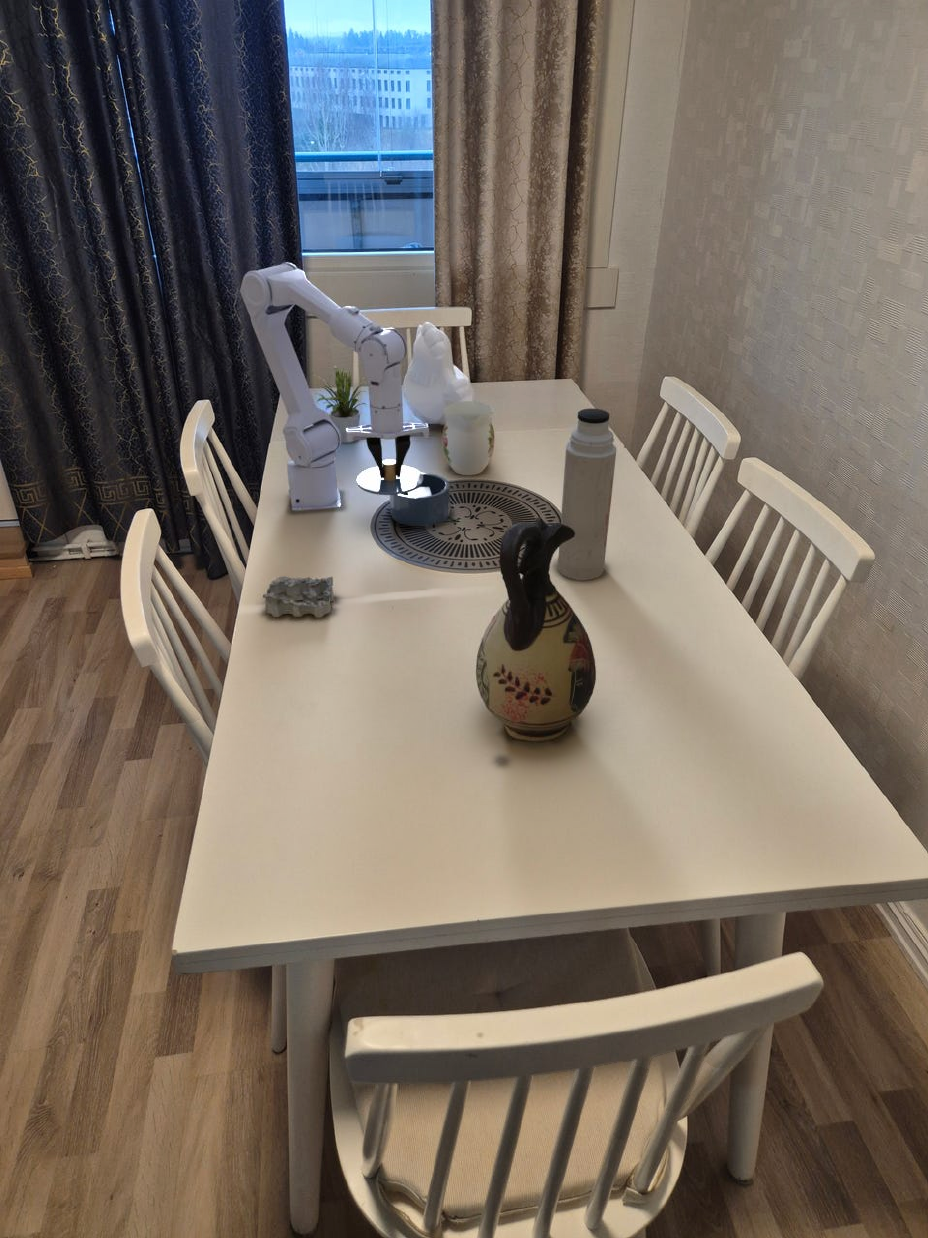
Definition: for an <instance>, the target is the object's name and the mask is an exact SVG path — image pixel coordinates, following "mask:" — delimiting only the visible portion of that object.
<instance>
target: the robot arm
mask: <svg viewBox="0 0 928 1238" xmlns="http://www.w3.org/2000/svg"><path fill="white" fill-rule="evenodd" d="M239 293H240V295H241V298H242V300H243V303H244V305H245V308H246V310H247V313H248V315H249V317H250V322H251V325H252V327H253V328H252V329H253V330H254V333H255V335H256V337H257V340H258V342H259V345H260V347H261V350H262V352H263V353H262V354H263V356H264V357H265V359H266V363H267V364H268V368H269V370H270V372H271V374H272V377H273V379H274V382H275V384H276V387H277V390H278V392H279V394H280V395H279V396H280V397H281V399H282V402H283V404H284V407H285V410H286V412H287V414H288V418H287V420H286V422H285V424H284V426H283V429H282V434H283V436H284V439H285V449H286V452H287V454H288V456H289V458H290V459H291V460H290V461H287V463H286V467H287V468H286V469H287V478H288V480H287V481H288V487H289V488H288V497H289V499H290V504H291V510H292V511H302V510H303V511H305V510H316V509H319V510H320V509H331V508H332V509H333V508H340V507H342V501H341V492H340V490H339V489H338V482H337V481H338V480H337V470H336V459H335V458H336V457H337V456H338V455H337V451H338V450H339V449H340V448H341V445H342V442H341V434H340V432H339V430H338V428H337V427H336V425H335V424H334V423H333V422H332V420H331V418H330V415H329V413H330V412H328V411H327V410H324V409H322V408H320V407H319V406H317V405H316V401H315V399H314V396H313V395H312V392H311V389H310V386H309V385H308V381H307V379H306V377H305V374H304V371H303V369H302V366H301V363H300V361H299V358H298V356H297V353H296V351H295V348H294V346H293V344H292V343H293V342H292V341H291V338H290V336H289V333H288V330H287V328H286V326H285V323H286V320H287V316H288V314H289V313H290V312H291V310H292V309H293V307H294V306H295V305H296V306H298V307H299V308H301V309H303V310H304V311H306V312H307V313H309V314H311V315H312V316H314V317H315V318H317V319H319V320H320V321H322V322H324V323H325V324H327V325H328V326H329V329H330V333H331V335H332V336H333V337H334V338H335V339H336V340H338V341H339V342H341V343H342V344H343V345H345V346H346V347H348V348H349V349H351V350H352V351H353V352H355V353H356V354H357V355H358V358H359V361H360V363H361V365H362V366H363V368H364V373H365V375H364V376H366V377H365V378H366V379H367V387H368V400H369V401H368V402H369V416H370V417H369V418H370V423H369V424H364V425H359V426H358V427H352V428H346V435H347V442H348V443H353V442H354V441H353V440H356V441H366V445H367V449H368V451H369V453H370V454H371V455H372V457H373V459H374V461H375V463H376V467H378V469H379V473H380V478H384V470H383V447H382V440H381V439H383V440H387V441H388V440H394V443H395V445H394V447H395V461H396V473H397V477H401V470H402V466H404V463H405V459H406V456H407V454H408V452H409V449H411V448H410V447H411V445H412V444H411V443H412V442H411V438H414V437H422V438H430V427H429V424H428V423H424V422H422V423H419V422H405V421H404V409H403V407H404V405H403V382H402V381H403V380H402V364H401V363H402V362H403V361H404V360H405V359H406V357H407V355H408V344H407V342H406V339H405V338H404V336H403V334H402V333H400V332H399V331H398V330H397V329H396V328H394V327H387V328H384V327H383V326H381V325H380V324H379V323H377V322H374V321H372V320H371V319H369V318H368V317H366V316H365V315H363V314H362V313H361V312H360V309H359V308H358V307H356V306H350V305H346V306H342V307H341V306H340V305H338V304H337V303H335V301H333V300H332V299H331V298H330V297H328V296H327V295H326V294H325V293H324V292H322V291H321V290H320V289H319V288H318V287H317V286H315V285H314V284H313V283H311V282H310V281H309V280H308V278H307V276H306V273H305V271H304V270H302V269H300V268H298V267H297V266H296V265H295V264H293V263H292V262H288V261H287V262H282V263H281V264H277V265H274V266H270V267H266V268H261V269H258V270H250V271H247V272H246V273H245V274H244V276H243V279H242V282H241V286H240V289H239Z"/></svg>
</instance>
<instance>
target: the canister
mask: <svg viewBox="0 0 928 1238" xmlns="http://www.w3.org/2000/svg"><path fill="white" fill-rule="evenodd" d="M421 473H422V475H423V478H424V481H423V483H422V485H421V486H420V487H428V486H429V488H430V491H431V494H432V495H430V496H423V497H412V496H407V493H403V494H398V495H388V497H389V511H390V517H391V518H392V520H394V521H395V522H396V523H399V524H401V525H406V526H409V527H427V526H428V527H429V526H432V525H436V524H440V523H442V522H443V521H445V520H446V519H447V518H449V516H450V513H451V488H450V482H449V481H448V479H446V478H445V477H443V476H441V475H438V474H434V473H430V472H421Z"/></svg>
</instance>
